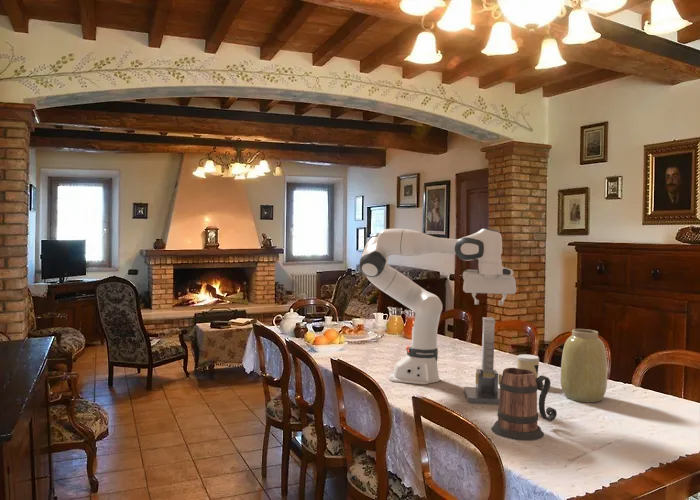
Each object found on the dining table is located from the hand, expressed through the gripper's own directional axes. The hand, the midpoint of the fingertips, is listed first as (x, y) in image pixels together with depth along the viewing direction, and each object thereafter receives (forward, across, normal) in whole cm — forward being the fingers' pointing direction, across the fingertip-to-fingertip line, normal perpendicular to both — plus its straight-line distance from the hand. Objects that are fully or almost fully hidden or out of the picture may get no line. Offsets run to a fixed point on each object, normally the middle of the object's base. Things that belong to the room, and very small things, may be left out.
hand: (488, 304), depth 222 cm
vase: (+37, +39, +7) cm, 55 cm away
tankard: (+37, +8, -35) cm, 52 cm away
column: (+29, 0, 0) cm, 29 cm away
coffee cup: (+37, +21, +25) cm, 50 cm away
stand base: (+37, 0, 0) cm, 37 cm away
